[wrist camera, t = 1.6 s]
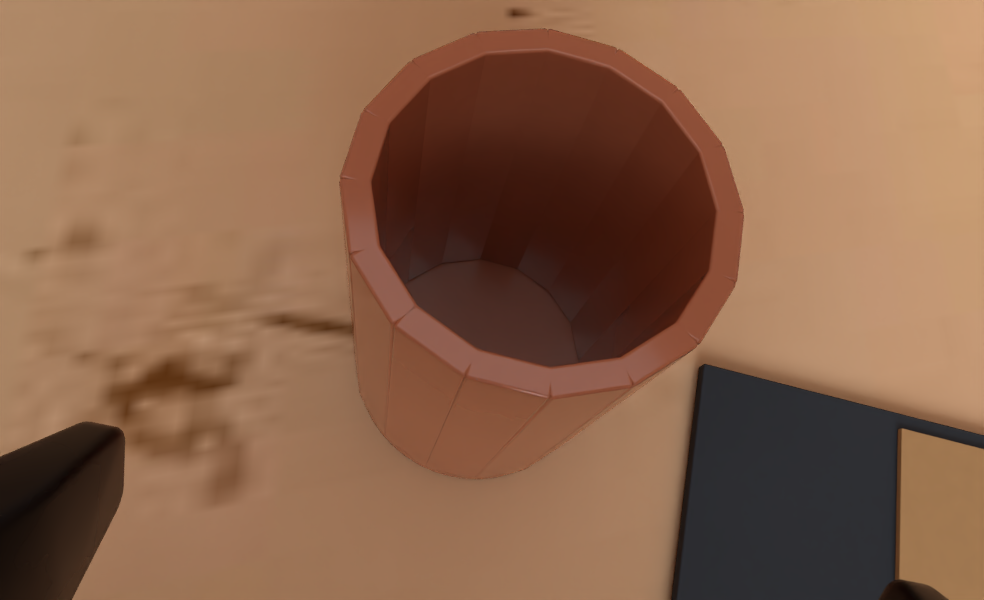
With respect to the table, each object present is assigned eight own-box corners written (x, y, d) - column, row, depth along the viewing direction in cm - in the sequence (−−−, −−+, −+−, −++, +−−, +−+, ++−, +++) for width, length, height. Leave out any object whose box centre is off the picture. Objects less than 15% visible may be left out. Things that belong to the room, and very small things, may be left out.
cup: (566, 504, 21) (721, 441, 11) (326, 446, 20) (286, 332, 11) (604, 285, 23) (759, 85, 14) (391, 229, 23) (402, -14, 13)
